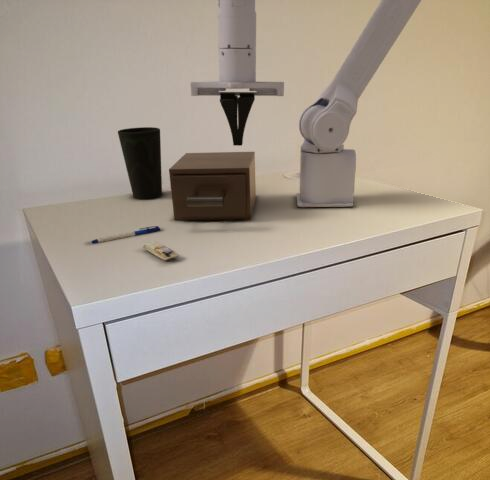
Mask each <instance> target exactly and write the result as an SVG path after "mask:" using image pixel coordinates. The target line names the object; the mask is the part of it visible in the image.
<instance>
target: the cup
mask: <svg viewBox="0 0 490 480" xmlns="http://www.w3.org/2000/svg"><path fill="white" fill-rule="evenodd" d="M117 134H118V139H119V144H120V148H121V152H122V156H123V161H124V164H125V167H126V172H127V177H128V180H129V184H130V188H131V189H130V190H131V192H132V193H131V194H132V197H133V199H135V200H154V199H158V198H160V197H162V196H163V178H162V176H163V175H162V149H161V146H162V145H161V143H162V142H161V129H160V128H159V127H153V126H152V127H151V126H149V127H148V126H146V127H145V126H144V127H143V126H142V127H131V128H129V127H128V128H123V129H119V130H118V131H117Z"/></svg>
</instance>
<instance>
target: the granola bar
mask: <svg viewBox="0 0 490 480" xmlns="http://www.w3.org/2000/svg"><path fill="white" fill-rule="evenodd" d="M141 247H142V248H143V249H145V250H146V251H148V252H149V253H151V254H153V255H154V256H156V257H158V258H159V259H161V260H162V261H168V260H169V261H170V260H172V259H175V258H176V257H178V256H179V254H178V253H177V252H176V251H175V250H173V249H171V248H170V247H168V246H166V245H164V244H162V243H160V242H158V241H155V240H154V241H151V242H148V243H145V244H143V245H141Z"/></svg>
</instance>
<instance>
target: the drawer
mask: <svg viewBox="0 0 490 480" xmlns="http://www.w3.org/2000/svg"><path fill="white" fill-rule="evenodd" d="M172 184H173V193H174V203H175V212H176V217H218V216H246V215H247V201H246V174H245V173H231V174H222V175H197V174H180V175H173V176H172Z"/></svg>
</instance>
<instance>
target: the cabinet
mask: <svg viewBox="0 0 490 480" xmlns="http://www.w3.org/2000/svg"><path fill="white" fill-rule="evenodd" d="M168 172H169V182H170V192H171V193H170V194H171V200H172V209H173V210H172V211H173V219H174V221H227V220H228V221H229V220H232V221H233V220H234V221H235V220H238V221H239V220H240V221H241V220H248V221H249V220H251V219H252V216H253V211H254V206H255V201H256V197H257V194H256V193H257V190H256V189H257V188H256V151H222V152H221V151H219V152H217V151H215V152H214V151H213V152H186V153H184V154H183V156H181V157H180V158H179V159H178V160H177V161H176V162H174V164H173V165H172V166H171V167H170V168H168ZM231 173H245V174H246V201H247V215H246V216H218V217H176V212H175V203H174V193H173V184H172V176H173V175H180V174H231Z"/></svg>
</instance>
